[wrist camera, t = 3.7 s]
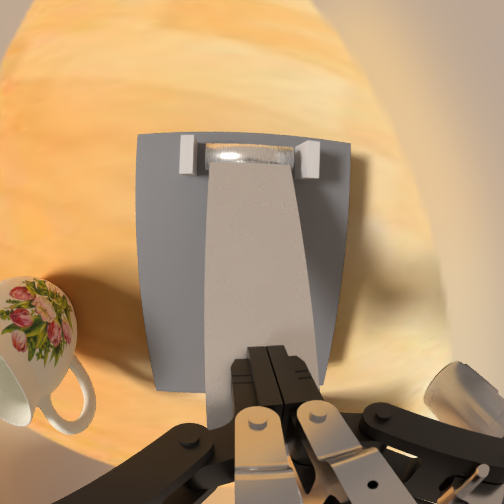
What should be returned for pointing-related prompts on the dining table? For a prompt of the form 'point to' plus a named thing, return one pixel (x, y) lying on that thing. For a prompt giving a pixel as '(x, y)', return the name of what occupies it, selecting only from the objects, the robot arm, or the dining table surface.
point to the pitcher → (38, 353)
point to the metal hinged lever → (252, 266)
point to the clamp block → (194, 239)
